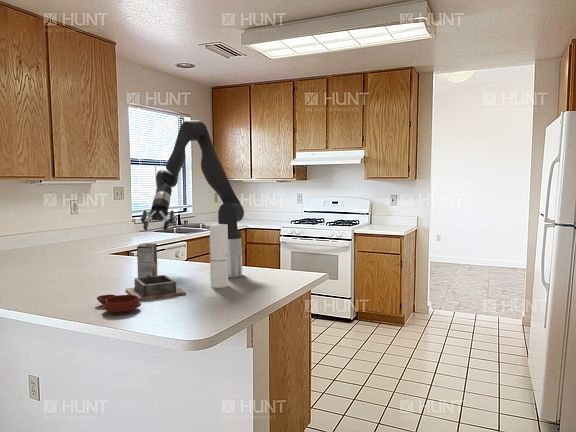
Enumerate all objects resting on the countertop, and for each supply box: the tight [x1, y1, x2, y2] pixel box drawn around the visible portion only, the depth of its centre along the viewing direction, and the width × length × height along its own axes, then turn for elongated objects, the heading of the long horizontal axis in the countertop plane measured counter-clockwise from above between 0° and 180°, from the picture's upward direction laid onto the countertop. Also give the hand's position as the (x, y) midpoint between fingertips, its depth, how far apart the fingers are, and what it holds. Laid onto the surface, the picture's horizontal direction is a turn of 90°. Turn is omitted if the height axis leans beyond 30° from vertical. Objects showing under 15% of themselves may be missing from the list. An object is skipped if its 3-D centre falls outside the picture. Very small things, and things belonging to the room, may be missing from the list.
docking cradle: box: [125, 274, 187, 302], centre depth 164 cm, size 18×18×5 cm
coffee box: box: [136, 242, 158, 278], centre depth 182 cm, size 9×6×16 cm
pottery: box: [96, 294, 142, 315], centre depth 143 cm, size 12×20×4 cm, turn 48°
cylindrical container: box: [209, 223, 229, 289], centre depth 175 cm, size 7×7×25 cm
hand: (155, 229), depth 193 cm, fingers open, 8 cm apart
